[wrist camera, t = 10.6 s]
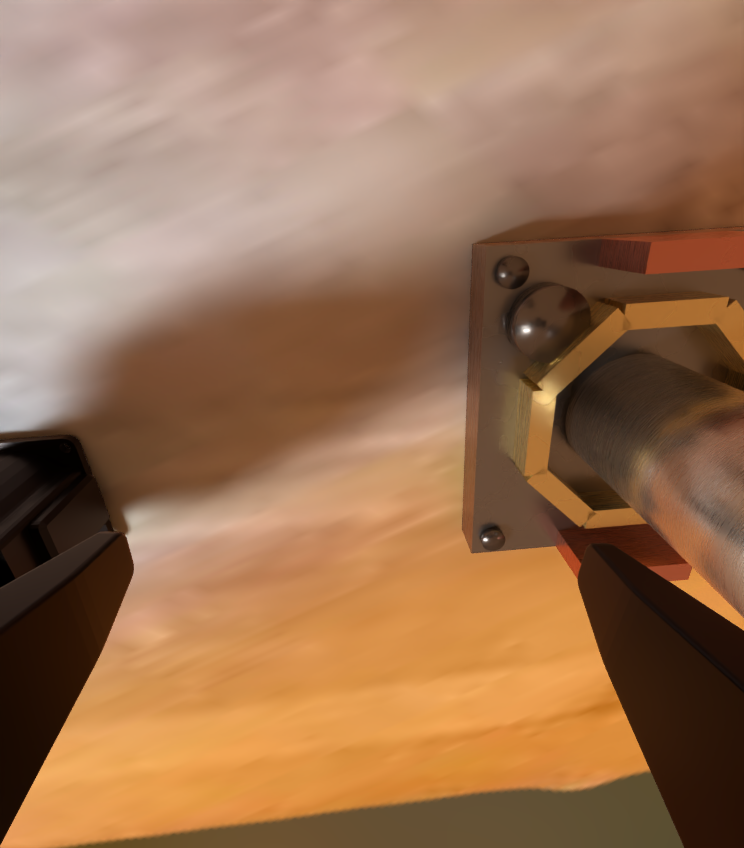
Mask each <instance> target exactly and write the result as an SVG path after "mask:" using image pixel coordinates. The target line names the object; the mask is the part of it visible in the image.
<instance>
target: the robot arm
mask: <svg viewBox="0 0 744 848" xmlns="http://www.w3.org/2000/svg"><path fill="white" fill-rule="evenodd" d="M64 443H66V444H68V445H69V446H70V447H71V449H69V448H67V447H66V446H65V445H64ZM133 572H134V564H133V560H132V556H131V552H130V549H129V545H128V541H127V538H126V536H125V535H124V534H123V533H121V532H114V531H113V528H112V526H111V523H110V520H109V514H108V511H107V509H106V506H105V503H104V501H103V498H102V495H101V493H100V490H99V487H98V485H97V482H96V479H95V478H94V476H93V475H92V472H91V470H90V467H89V464H88V462H87V459H86V456H85V454H84V451H83V449H82V446H81V443H80V442H79V440H78V439H77V438H76V437H74V436H71V435H57V436H44V437H31V438H18V439H5V440H0V845H1V843H2V841H3V839H4V837H5V835H6V833H7V832H8V830H9V828H10V826H11V824H12V822H13V820H14V818H15V816H16V814H17V813H18V811H19V809H20V807H21V805H22V803H23V801H24V799H25V797H26V795H27V794H28V792H29V790H30V788H31V786H32V784H33V782H34V780H35V778H36V776H37V775H38V773H39V771H40V769H41V767H42V765H43V763H44V761H45V759H46V757H47V756H48V754H49V752H50V750H51V748H52V746H53V744H54V742H55V740H56V738H57V736H58V735H59V733H60V731H61V729H62V727H63V725H64V723H65V721H66V719H67V717H68V716H69V714H70V712H71V710H72V708H73V706H74V704H75V702H76V700H77V698H78V697H79V695H80V693H81V691H82V689H83V687H84V685H85V683H86V681H87V679H88V678H89V676H90V674H91V672H92V670H93V668H94V666H95V664H96V662H97V660H98V658H99V656H100V654H101V652H102V650H103V647H104V645H105V643H106V641H107V638H108V636H109V633H110V631H111V628H112V626H113V623H114V621H115V618H116V616H117V613H118V611H119V608H120V606H121V603H122V601H123V599H124V596H125V594H126V591H127V589H128V586H129V584H130V581H131V579H132V576H133ZM578 586H579V590H580V593H581V596H582V599H583V602H584V605H585V608H586V611H587V614H588V617H589V620H590V624H591V627H592V630H593V633H594V636H595V639H596V642H597V645H598V648H599V651H600V654H601V657H602V660H603V663H604V665H605V668H606V670H607V672H608V675H609V677H610V679H611V682H612V684H613V686H614V689H615V691H616V693H617V695H618V698H619V700H620V702H621V705H622V707H623V709H624V711H625V714H626V716H627V718H628V721H629V723H630V725H631V727H632V730H633V732H634V734H635V737H636V739H637V741H638V743H639V746H640V748H641V750H642V752H643V755H644V757H645V759H646V762H647V764H648V766H649V768H650V771H651V773H652V775H653V777H654V780H655V782H656V784H657V786H658V789H659V791H660V793H661V796H662V798H663V800H664V802H665V805H666V807H667V810H668V812H669V814H670V816H671V819H672V821H673V823H674V825H675V828H676V830H677V832H678V835H679V837H680V839H681V841H682V843H683V846H684V848H744V630H742V629H741V628H739V627H738V626H736V625H734V624H733V623H731V622H730V621H728V620H727V619H725V618H724V617H722V616H721V615H719V614H718V613H716V612H715V611H713V610H712V609H710V608H709V607H707V606H706V605H704V604H703V603H701V602H699V601H698V600H696V599H695V598H693V597H692V596H690V595H689V594H687V593H686V592H684V591H683V590H681V589H680V588H678V587H677V586H675V585H674V584H672V583H671V582H669V581H668V580H666V579H664V578H663V577H661V576H660V575H658V574H657V573H655V572H654V571H652V570H651V569H649V568H648V567H646V566H645V565H643V564H642V563H640V562H639V561H637V560H636V559H634V558H632V557H631V556H629V555H628V554H626V553H625V552H623V551H622V550H620V549H619V548H617V547H616V546H614V545H612V544H608V543H592V544H589V545H588V546H587V548H586V550H585V553H584V557H583V560H582V563H581V566H580V569H579V572H578Z"/></svg>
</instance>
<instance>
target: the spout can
mask: <svg viewBox="0 0 744 848" xmlns="http://www.w3.org/2000/svg"><path fill="white" fill-rule="evenodd" d="M565 425H566V434H567V438H568V441H569V443H570V445H571V447H572V449H573V450H574V451H575V452H576V453H577V454H578V455H579V456H580V457H581V458H582V459H583V460H584V461H585V462H586V463H587V464H588V465H589V466H590V467H591V468H592V469H593V470H594V471H595V472H596V473H597V474H598V475H599V476H600V477H601V478H602V479H603V480H604V481H605V482H606V483H607V484H608V485H609V486H610V487H611V488H612V489H613V490H614V491H615V492H616V493H617V494H618V495H619V496H620V497H621V498H622V499H623V500H624V501H625V502H627V503H628V504H629V505H630V506H631V507H632V508H633V509H634V510H635V511H636V512H637V513H638V514H639V515H640V516H641V517H642V518H643V519H644V520H645V521H646V522H647V523H648V524H649V525H650V526H651V527H652V528H653V529H654V530H655V531H656V532H657V533H658V534H659V535H660V536H661V537H662V538H663V539H664V540H665V541H666V542H667V543H668V544H669V545H670V546H671V547H672V548H673V549H674V550H675V551H676V552H677V553H678V554H679V555H680V556H681V557H682V558H683V559H684V560H685V561H687V562H688V563H689V564H690V565H691V566H692V567H693V568H694V569H695V570H696V571H697V572H698V573H699V574H700V575H701V576H702V577H703V578H704V579H705V580H706V581H707V582H708V583H709V584H710V585H711V586H712V587H713V588H714V589H715V590H716V591H717V592H718V593H719V594H720V595H721V596H722V597H723V598H724V599H725V600H726V601H727V602H728V603H729V604H730V605H731V606H732V607H733V608H734V609H735V610H736V611H737V612H738V613H739V614H740V615H741V616H742V617H743V618H744V391H741V390H739V389H737V388H734V387H732V386H729V385H727V384H725V383H722V382H720V381H717V380H715V379H713V378H710V377H708V376H706V375H703V374H701V373H698V372H696V371H694V370H691V369H689V368H687V367H684V366H682V365H679V364H677V363H675V362H672V361H670V360H668V359H665V358H663V357H660V356H657V355H652V354H632V355H627V356H623V357H620V358H617V359H614V360H612V361H610V362H608V363H606V364H605V365H603V366H601V367H600V368H598V369H597V370H596V371H595V372H593V373H592V374H591V375H590V376H589V377H588V378H587V379H586V380H585V381H584V382H583V383H582V384H581V385H580V387H579V388H578V390H577V391H576V393H575V394H574V396H573V398H572V400H571V402H570V405H569V407H568V411H567V415H566V423H565Z"/></svg>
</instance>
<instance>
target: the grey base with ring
mask: <svg viewBox="0 0 744 848" xmlns="http://www.w3.org/2000/svg"><path fill="white" fill-rule="evenodd" d="M632 354H652V355H657V356H660V357H663V358H665V359H668V360H670V361H672V362H675V363H677V364H679V365H682V366H684V367H687V368H689V369H691V370H694V371H696V372H698V373H701V374H703V375H706V376H708V377H710V378H713V379H715V380H717V381H720V382H722V383H725V384H727V385H729V386H732V387H734V388H737V389H739V390H741V391H744V227H729V228H713V229H698V230H682V231H667V232H651V233H636V234H620V235H605V236H589V237H574V238H558V239H543V240H527V241H512V242H496V243H481V244H473V245H472V272H471V300H470V327H469V354H468V382H467V409H466V436H465V464H464V491H463V518H462V530H463V533H464V535H465V538H466V541H467V543H468V546H469V548H470V551H471V553H481V552H493V551H504V550H516V549H527V548H538V547H550V546H556V547H557V549H558V550H559V552H560V553H561V555H562V556H563V558H564V559H565V561H566V562H567V564H568V565H569V567H570V568H571V570H572V571H573V573H574V574H575V576H576V577H577V579H578V572H579V569H580V566H581V563H582V560H583V557H584V553H585V550H586V548H587V546H588V545H589V544H592V543H608V544H612V545H614V546H616V547H617V548H619V549H620V550H622V551H623V552H625V553H626V554H628V555H629V556H631V557H632V558H634V559H636V560H637V561H639V562H640V563H642V564H643V565H645V566H646V567H648V568H649V569H651V570H652V571H654V572H655V573H657V574H658V575H660V576H661V577H663V578H664V579H666V580H668V581H676V580H687V579H688V578H689V575H690V572H691V569H692V566H691V565H690V564H689V563H688V562H687V561H685V560H684V559H683V558H682V557H681V556H680V555H679V554H678V553H677V552H676V551H675V550H674V549H673V548H672V547H671V546H670V545H669V544H668V543H667V542H666V541H665V540H664V539H663V538H662V537H661V536H660V535H659V534H658V533H657V532H656V531H655V530H654V529H653V528H652V527H651V526H650V525H649V524H648V523H647V522H646V521H645V520H644V519H643V518H642V517H641V516H640V515H639V514H638V513H637V512H636V511H635V510H634V509H633V508H632V507H631V506H630V505H629V504H628V503H627V502H625V501H624V500H623V499H622V498H621V497H620V496H619V495H618V494H617V493H616V492H615V491H614V490H613V489H612V488H611V487H610V486H609V485H608V484H607V483H606V482H605V481H604V480H603V479H602V478H601V477H600V476H599V475H598V474H597V473H596V472H595V471H594V470H593V469H592V468H591V467H590V466H589V465H588V464H587V463H586V462H585V461H584V460H583V459H582V458H581V457H580V456H579V455H578V454H577V453H576V452H575V451H574V450H573V449H572V447H571V445H570V443H569V441H568V438H567V434H566V425H565V423H566V415H567V411H568V407H569V405H570V402H571V400H572V398H573V396H574V394H575V393H576V391H577V390H578V388H579V387H580V385H581V384H582V383H583V382H584V381H585V380H586V379H587V378H588V377H589V376H590V375H591V374H592V373H593V372H595V371H596V370H597V369H598V368H600V367H601V366H603V365H605V364H606V363H608V362H610V361H612V360H614V359H617V358H620V357H623V356H627V355H632Z"/></svg>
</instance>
